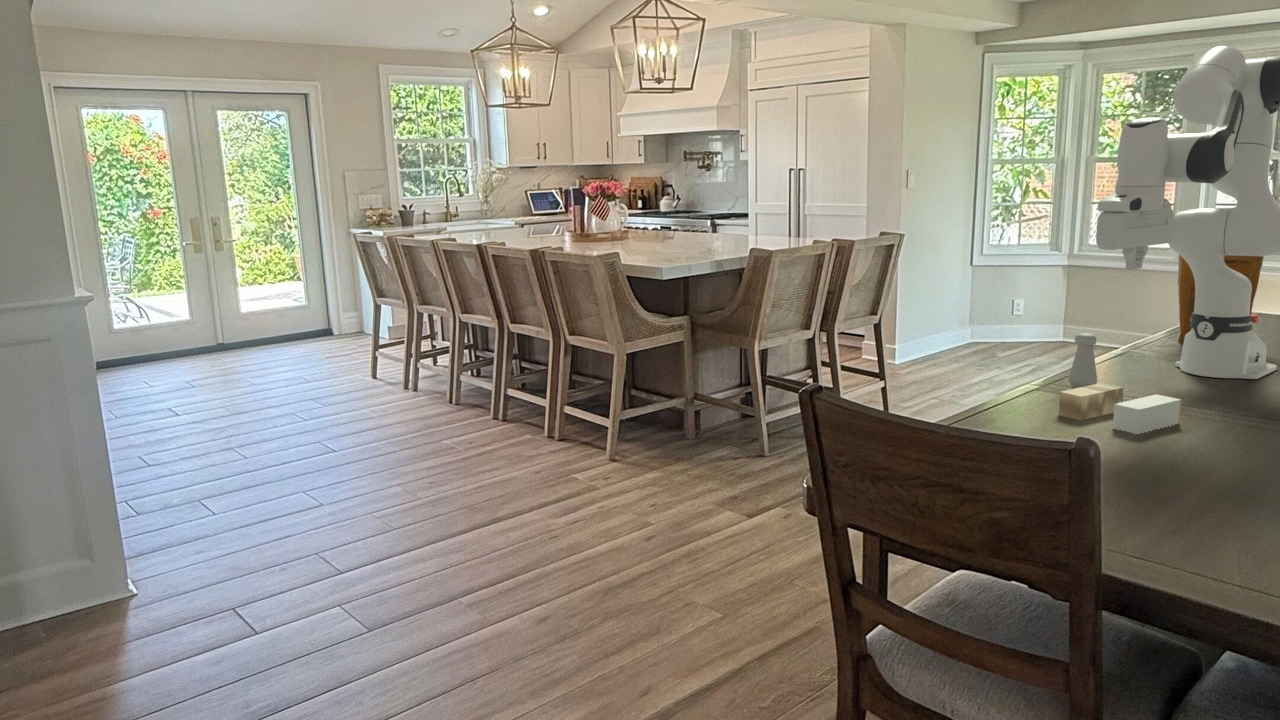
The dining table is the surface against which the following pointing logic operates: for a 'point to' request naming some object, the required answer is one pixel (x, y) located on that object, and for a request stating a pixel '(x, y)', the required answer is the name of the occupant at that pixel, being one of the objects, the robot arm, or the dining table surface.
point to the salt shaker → (1083, 362)
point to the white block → (1146, 414)
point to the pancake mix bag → (1186, 285)
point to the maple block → (1089, 401)
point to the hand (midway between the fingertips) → (1133, 268)
